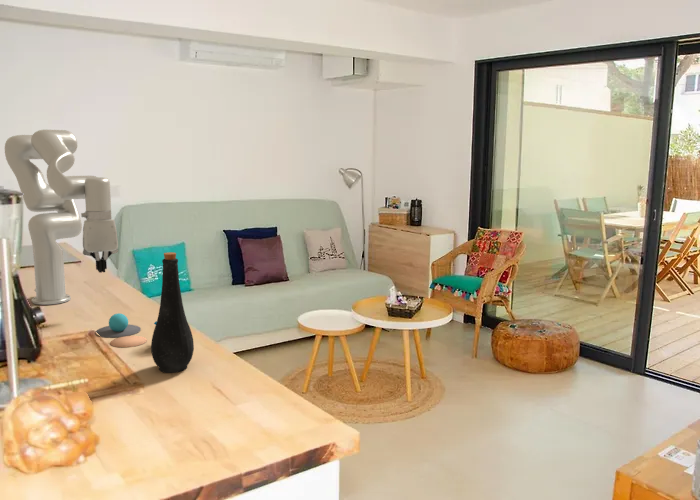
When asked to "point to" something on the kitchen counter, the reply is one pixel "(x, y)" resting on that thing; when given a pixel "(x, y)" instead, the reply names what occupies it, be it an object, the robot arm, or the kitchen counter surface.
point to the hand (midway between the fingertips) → (101, 271)
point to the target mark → (110, 333)
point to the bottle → (171, 323)
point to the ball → (118, 322)
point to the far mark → (128, 341)
